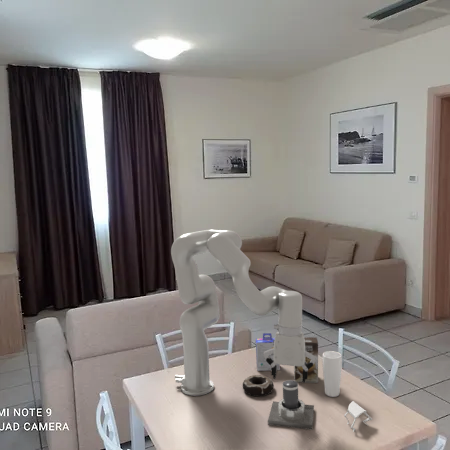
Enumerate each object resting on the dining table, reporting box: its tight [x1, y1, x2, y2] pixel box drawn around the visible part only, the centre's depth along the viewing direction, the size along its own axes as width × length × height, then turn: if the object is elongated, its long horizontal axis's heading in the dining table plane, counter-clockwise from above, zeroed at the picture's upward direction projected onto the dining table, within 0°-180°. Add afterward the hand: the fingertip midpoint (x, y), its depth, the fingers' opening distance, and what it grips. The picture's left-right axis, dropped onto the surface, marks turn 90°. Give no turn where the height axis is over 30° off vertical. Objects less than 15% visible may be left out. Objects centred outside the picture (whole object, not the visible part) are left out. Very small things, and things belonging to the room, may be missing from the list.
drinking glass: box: [321, 350, 343, 398], centre depth 157 cm, size 7×7×15 cm
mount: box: [267, 398, 315, 430], centre depth 143 cm, size 14×12×4 cm
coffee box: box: [293, 336, 319, 384], centre depth 169 cm, size 9×6×16 cm
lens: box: [282, 379, 299, 409], centre depth 143 cm, size 5×5×10 cm
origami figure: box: [344, 400, 373, 433], centre depth 139 cm, size 12×8×5 cm
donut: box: [242, 374, 275, 397], centre depth 162 cm, size 12×12×4 cm
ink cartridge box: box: [255, 332, 281, 372], centre depth 179 cm, size 10×6×14 cm, turn 89°
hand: (289, 379), depth 142 cm, fingers open, 9 cm apart
